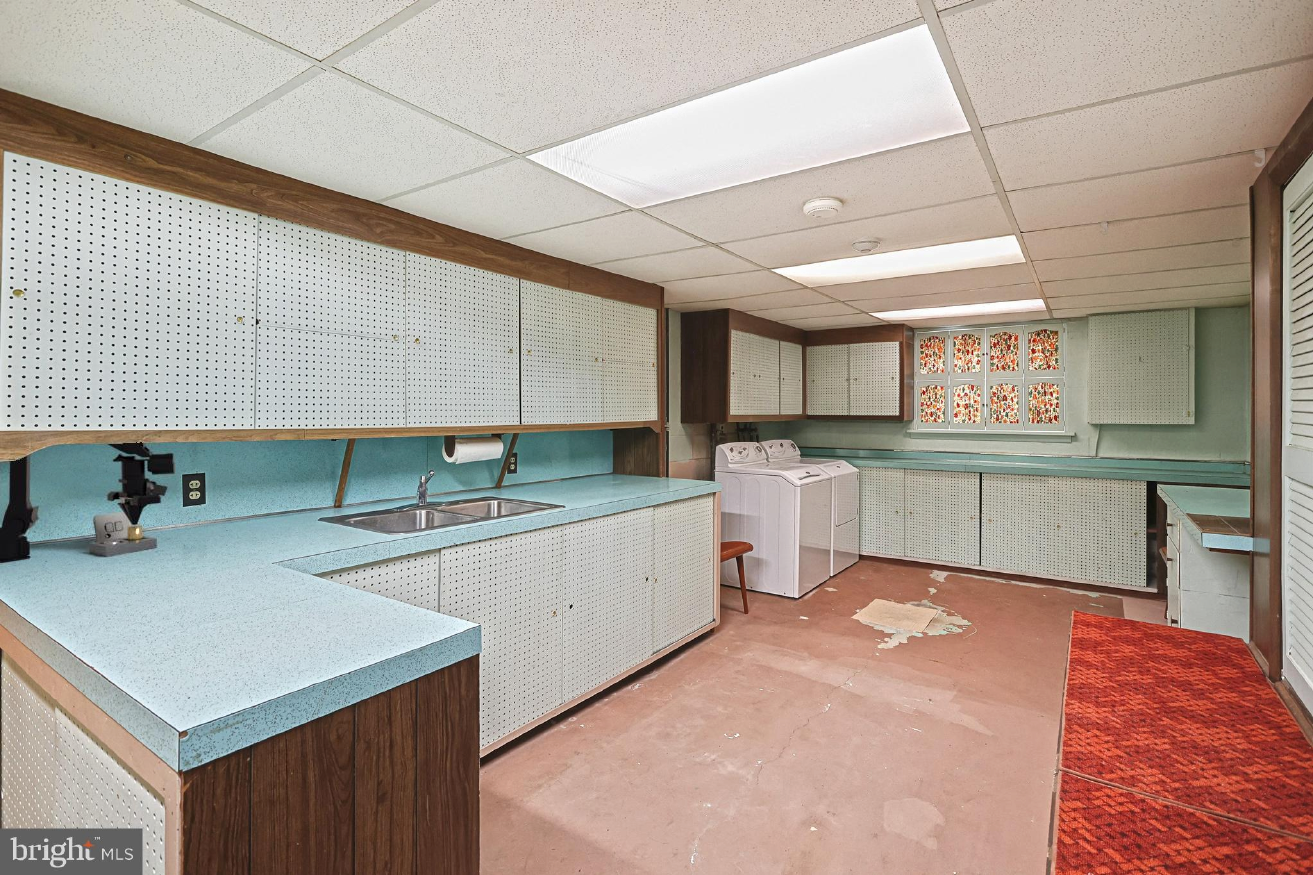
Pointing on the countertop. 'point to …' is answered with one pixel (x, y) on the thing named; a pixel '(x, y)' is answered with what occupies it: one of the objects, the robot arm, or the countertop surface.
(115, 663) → the countertop surface
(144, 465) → the robot arm
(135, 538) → the gold domed cylinder
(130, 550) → the jig
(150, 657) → the countertop surface
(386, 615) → the countertop surface
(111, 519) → the electrical switch
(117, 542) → the silver round knob
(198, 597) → the countertop surface
